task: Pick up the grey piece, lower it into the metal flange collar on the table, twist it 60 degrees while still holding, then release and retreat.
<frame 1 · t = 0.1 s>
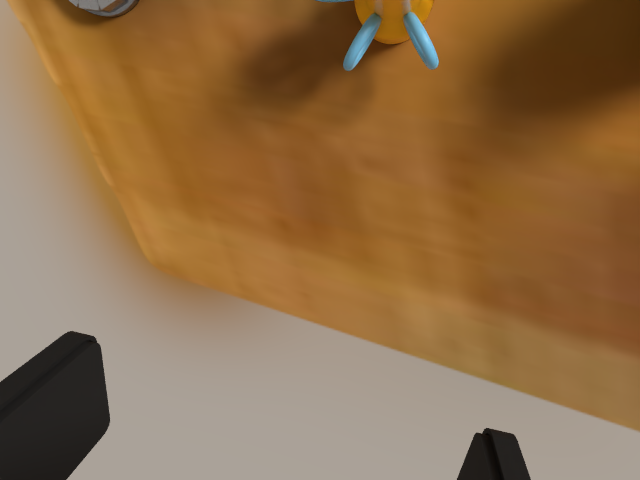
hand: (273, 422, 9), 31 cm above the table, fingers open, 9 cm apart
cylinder: (394, 6, 33), on the table
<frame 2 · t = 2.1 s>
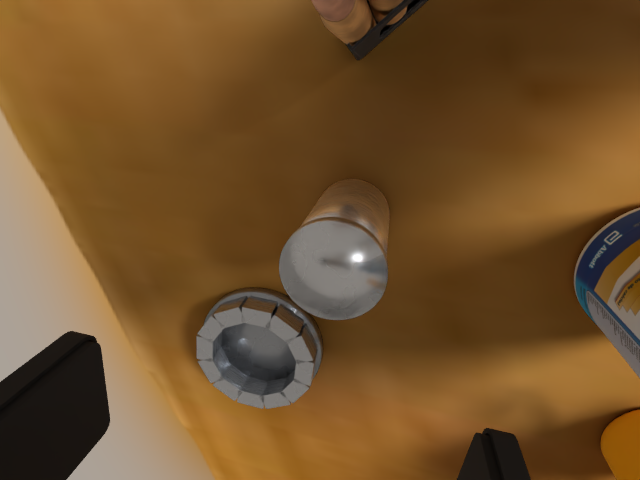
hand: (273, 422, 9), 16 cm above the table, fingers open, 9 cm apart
duct flange: (263, 340, 29), on the table
grey piece: (352, 214, 24), on the table
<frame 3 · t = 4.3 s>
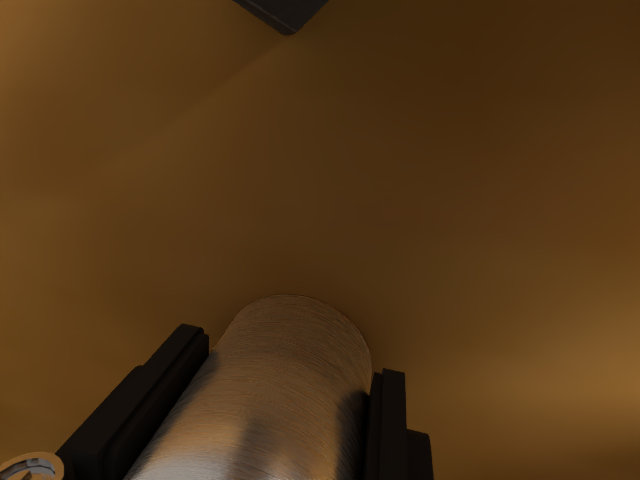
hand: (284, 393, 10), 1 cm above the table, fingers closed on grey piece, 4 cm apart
grey piece: (296, 360, 12), on the table, touching gripper
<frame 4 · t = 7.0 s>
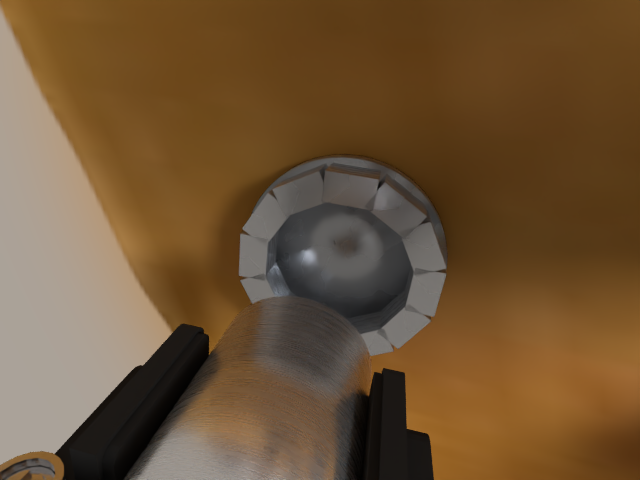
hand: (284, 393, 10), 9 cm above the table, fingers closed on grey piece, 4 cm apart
duct flange: (344, 251, 18), on the table
grey piece: (295, 361, 11), point 7 cm above the table, touching gripper
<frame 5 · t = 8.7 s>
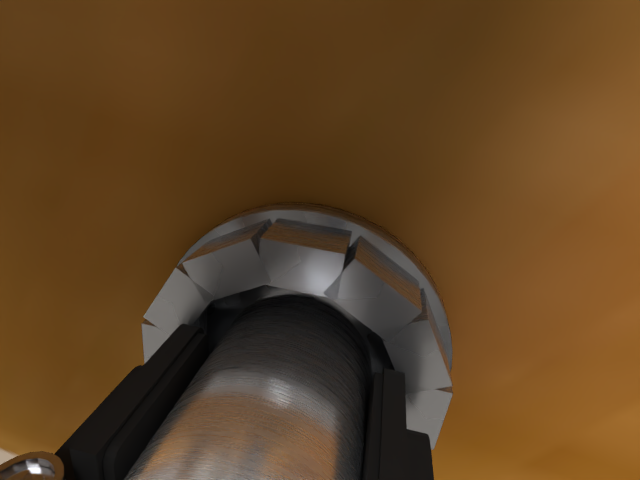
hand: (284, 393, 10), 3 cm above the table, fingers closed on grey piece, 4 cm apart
duct flange: (304, 335, 13), on the table
grey piece: (296, 361, 12), point 1 cm above the table, touching gripper
when the fingers open (3 cm above the table, at t = 9.6 s): grey piece stays where it is, resting on duct flange.
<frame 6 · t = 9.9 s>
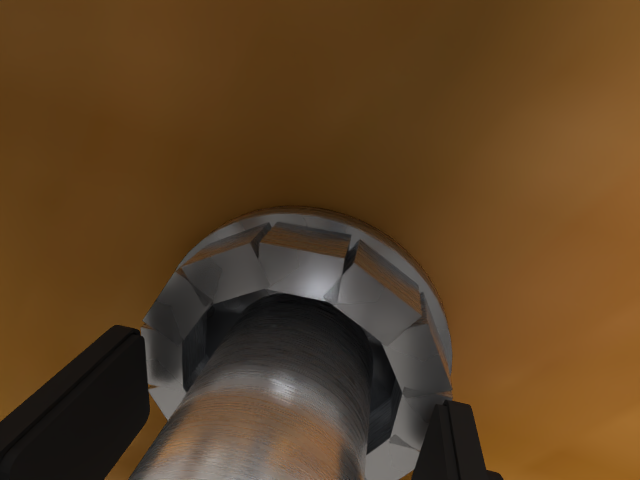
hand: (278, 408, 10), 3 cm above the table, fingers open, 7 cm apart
duct flange: (304, 338, 12), on the table
grey piece: (299, 356, 12), point 1 cm above the table, touching duct flange
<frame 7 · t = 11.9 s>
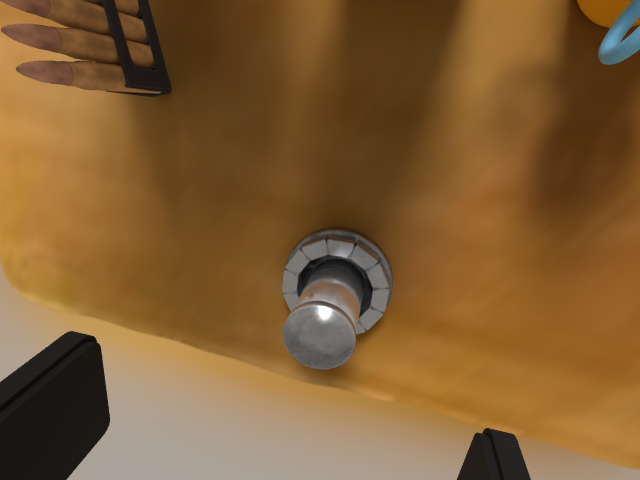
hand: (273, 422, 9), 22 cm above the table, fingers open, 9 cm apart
duct flange: (338, 278, 32), on the table
grey piece: (337, 283, 32), point 1 cm above the table, touching duct flange
ammunition clip: (143, 19, 29), on the table
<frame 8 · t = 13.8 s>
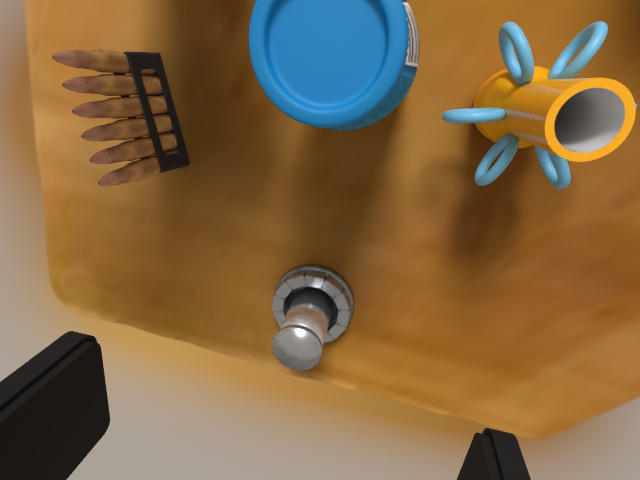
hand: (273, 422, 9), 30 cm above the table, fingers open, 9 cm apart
duct flange: (314, 300, 43), on the table
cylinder: (508, 106, 33), on the table
grey piece: (313, 304, 43), point 1 cm above the table, touching duct flange
blue lidded canister: (363, 66, 34), on the table
ammunition clip: (168, 112, 39), on the table
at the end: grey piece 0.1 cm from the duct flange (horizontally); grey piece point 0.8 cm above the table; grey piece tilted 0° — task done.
